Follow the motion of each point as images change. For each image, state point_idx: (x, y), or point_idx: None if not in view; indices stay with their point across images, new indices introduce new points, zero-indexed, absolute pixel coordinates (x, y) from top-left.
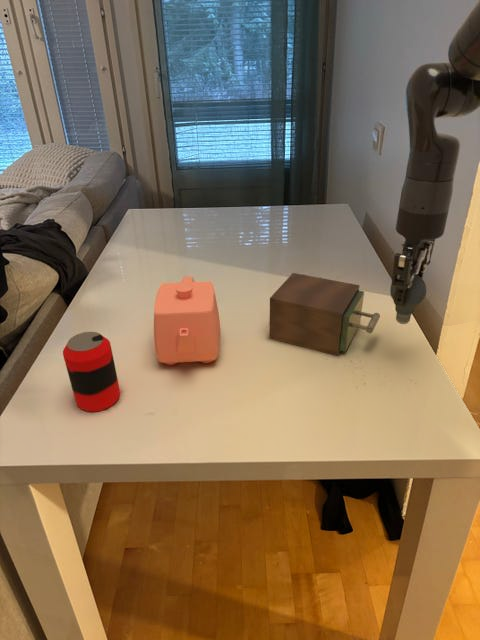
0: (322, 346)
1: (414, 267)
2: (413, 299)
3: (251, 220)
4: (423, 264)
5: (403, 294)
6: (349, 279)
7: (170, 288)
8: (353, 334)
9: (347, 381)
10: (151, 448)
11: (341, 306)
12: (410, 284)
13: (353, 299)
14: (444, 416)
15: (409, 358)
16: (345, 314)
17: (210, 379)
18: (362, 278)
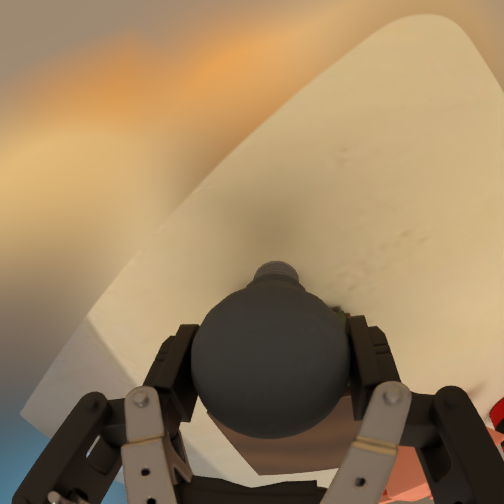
0: None
1: (174, 430)
2: (334, 317)
3: (123, 474)
4: (168, 440)
5: (392, 365)
6: (112, 385)
7: (423, 495)
8: None
9: (414, 261)
10: None
11: (336, 405)
12: (398, 398)
13: None
14: (404, 66)
15: (261, 199)
16: (348, 384)
17: (468, 380)
18: (93, 371)
